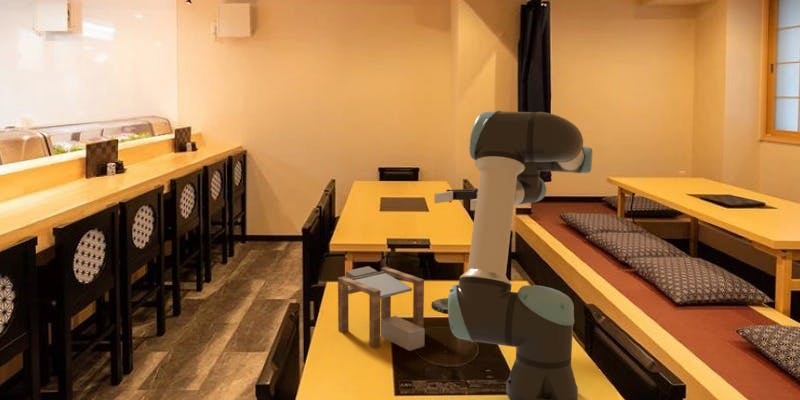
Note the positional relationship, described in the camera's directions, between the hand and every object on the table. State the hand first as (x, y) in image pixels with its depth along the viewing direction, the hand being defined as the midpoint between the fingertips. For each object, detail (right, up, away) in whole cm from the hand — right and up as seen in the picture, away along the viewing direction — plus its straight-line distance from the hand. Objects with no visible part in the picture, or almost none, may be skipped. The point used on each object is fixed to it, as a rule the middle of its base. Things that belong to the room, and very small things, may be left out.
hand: (452, 201), depth 168 cm
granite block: (-17, -34, +2) cm, 38 cm away
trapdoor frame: (-19, -36, +4) cm, 41 cm away
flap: (-21, -23, +4) cm, 31 cm away
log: (+1, -33, +24) cm, 41 cm away
